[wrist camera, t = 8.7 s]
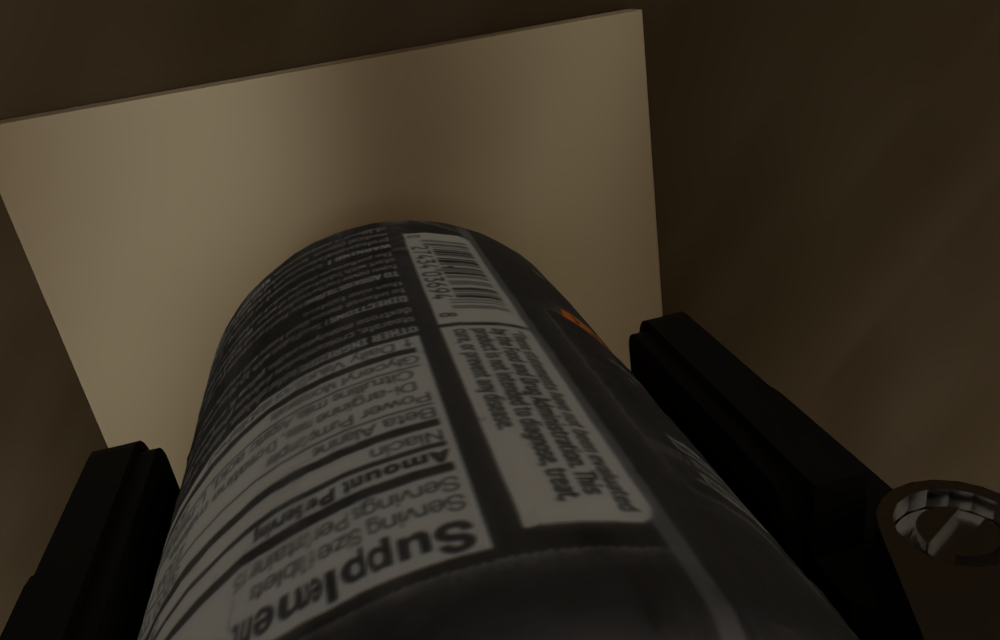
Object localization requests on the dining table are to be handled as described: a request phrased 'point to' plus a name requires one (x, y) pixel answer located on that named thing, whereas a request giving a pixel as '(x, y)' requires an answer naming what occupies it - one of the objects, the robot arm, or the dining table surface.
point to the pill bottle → (451, 470)
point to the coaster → (329, 195)
